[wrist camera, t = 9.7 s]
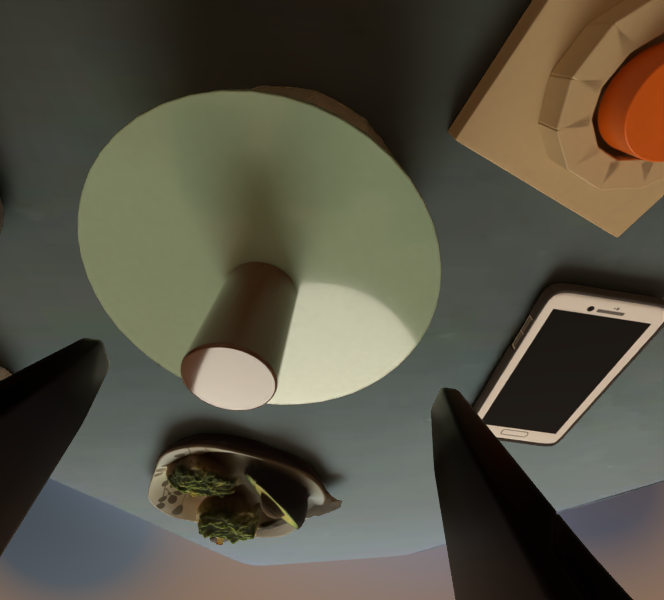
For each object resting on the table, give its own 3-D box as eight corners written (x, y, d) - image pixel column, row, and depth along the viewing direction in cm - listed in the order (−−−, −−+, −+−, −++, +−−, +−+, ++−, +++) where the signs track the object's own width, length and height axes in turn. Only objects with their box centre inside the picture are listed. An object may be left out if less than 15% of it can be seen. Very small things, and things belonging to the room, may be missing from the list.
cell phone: (459, 425, 30) (462, 436, 29) (547, 277, 21) (554, 286, 21) (549, 438, 30) (554, 448, 29) (670, 297, 22) (682, 307, 21)
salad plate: (280, 541, 46) (274, 586, 42) (138, 503, 41) (116, 549, 38) (358, 473, 35) (358, 525, 32) (178, 413, 31) (154, 464, 27)
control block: (788, 40, 15) (893, 40, 12) (598, 224, 19) (640, 255, 17) (610, -123, 12) (687, -171, 9) (446, 132, 17) (464, 149, 14)
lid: (514, 211, 13) (603, 306, 8) (337, 418, 20) (332, 528, 16) (120, -16, 10) (-89, -66, 5) (82, 326, 17) (-18, 429, 12)
